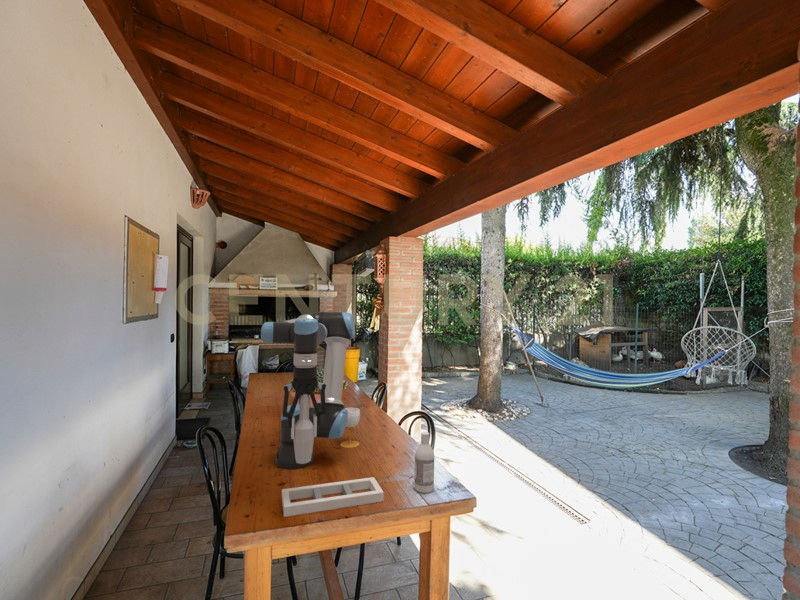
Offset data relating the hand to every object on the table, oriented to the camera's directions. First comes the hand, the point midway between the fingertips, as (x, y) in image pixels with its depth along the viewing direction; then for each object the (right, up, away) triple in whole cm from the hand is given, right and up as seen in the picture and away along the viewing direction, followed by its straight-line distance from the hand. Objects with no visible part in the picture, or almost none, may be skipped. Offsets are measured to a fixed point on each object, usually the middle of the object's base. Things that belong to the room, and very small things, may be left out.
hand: (303, 436), depth 128 cm
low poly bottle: (0, -8, 0) cm, 8 cm away
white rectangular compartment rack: (+9, -22, +3) cm, 24 cm away
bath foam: (+40, -23, +12) cm, 48 cm away
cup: (+8, -23, +55) cm, 60 cm away
